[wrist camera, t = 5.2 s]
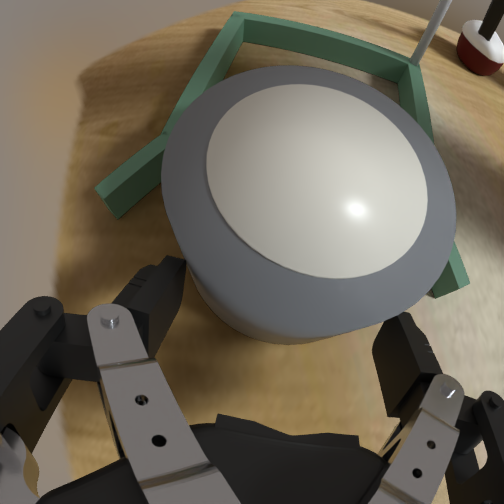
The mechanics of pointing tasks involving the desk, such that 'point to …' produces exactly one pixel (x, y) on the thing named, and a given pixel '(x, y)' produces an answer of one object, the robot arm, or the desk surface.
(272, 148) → the grey cylinder
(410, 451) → the robot arm
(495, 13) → the cocoa
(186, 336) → the desk surface
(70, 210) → the desk surface
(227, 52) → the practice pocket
